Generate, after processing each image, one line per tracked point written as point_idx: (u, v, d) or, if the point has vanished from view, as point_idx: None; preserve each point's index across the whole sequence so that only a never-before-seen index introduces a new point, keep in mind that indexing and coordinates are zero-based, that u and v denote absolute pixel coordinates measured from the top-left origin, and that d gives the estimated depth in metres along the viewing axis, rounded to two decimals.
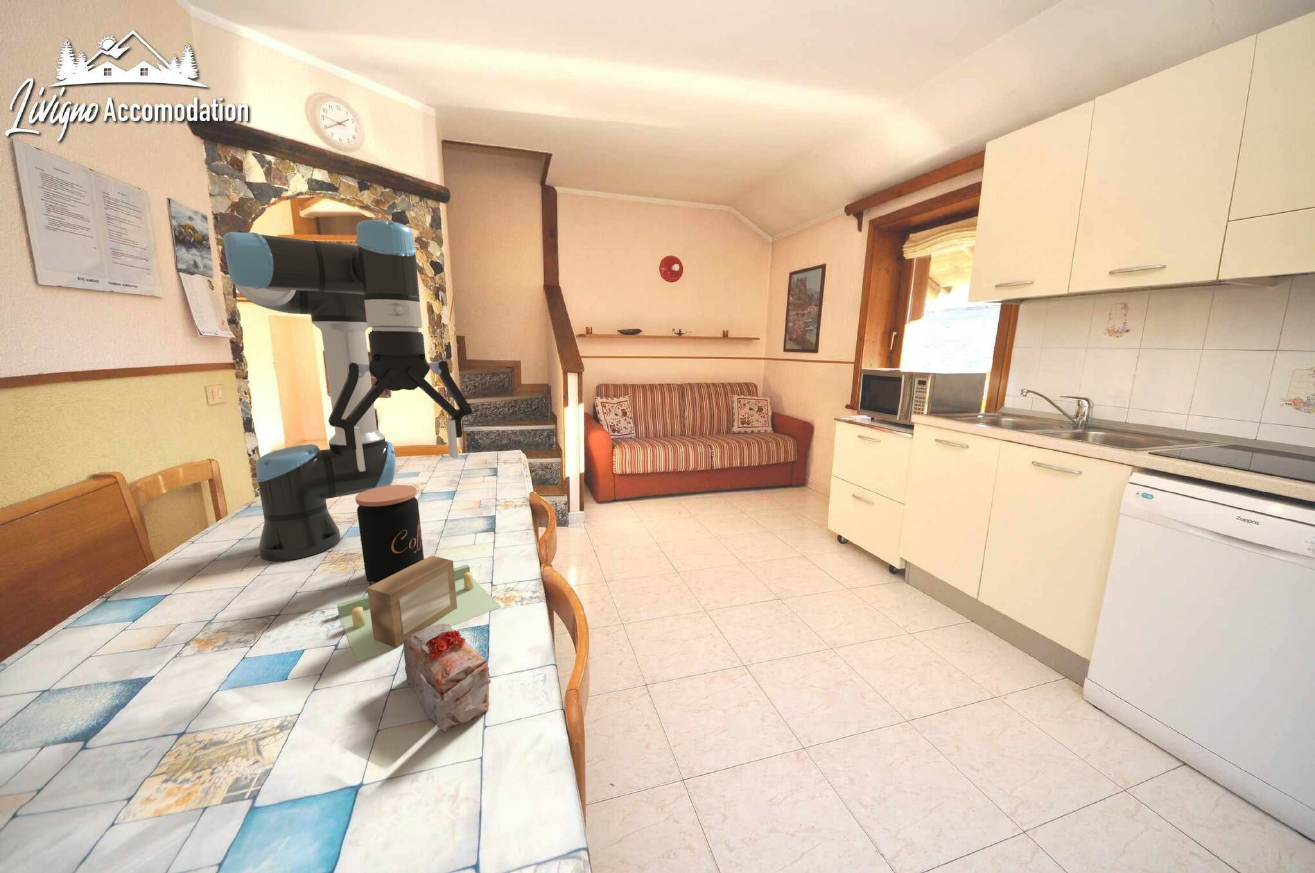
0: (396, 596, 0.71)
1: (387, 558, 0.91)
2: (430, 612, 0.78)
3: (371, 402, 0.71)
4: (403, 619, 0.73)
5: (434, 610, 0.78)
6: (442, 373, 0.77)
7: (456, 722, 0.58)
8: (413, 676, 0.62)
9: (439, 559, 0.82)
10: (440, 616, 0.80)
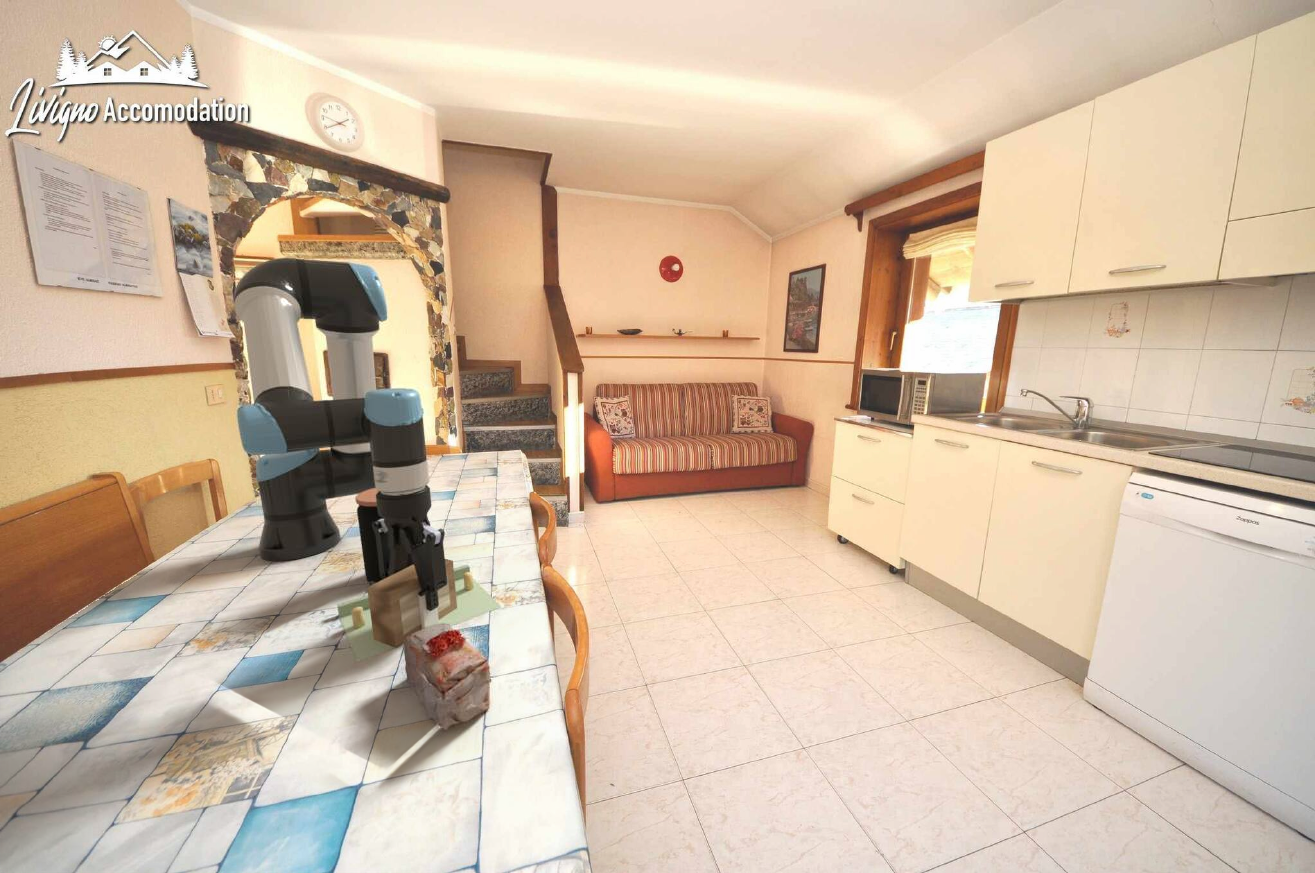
0: (396, 596, 0.71)
1: None
2: None
3: (394, 558, 0.76)
4: (403, 619, 0.73)
5: None
6: (426, 544, 0.72)
7: (457, 721, 0.58)
8: (414, 675, 0.62)
9: None
10: (440, 616, 0.80)
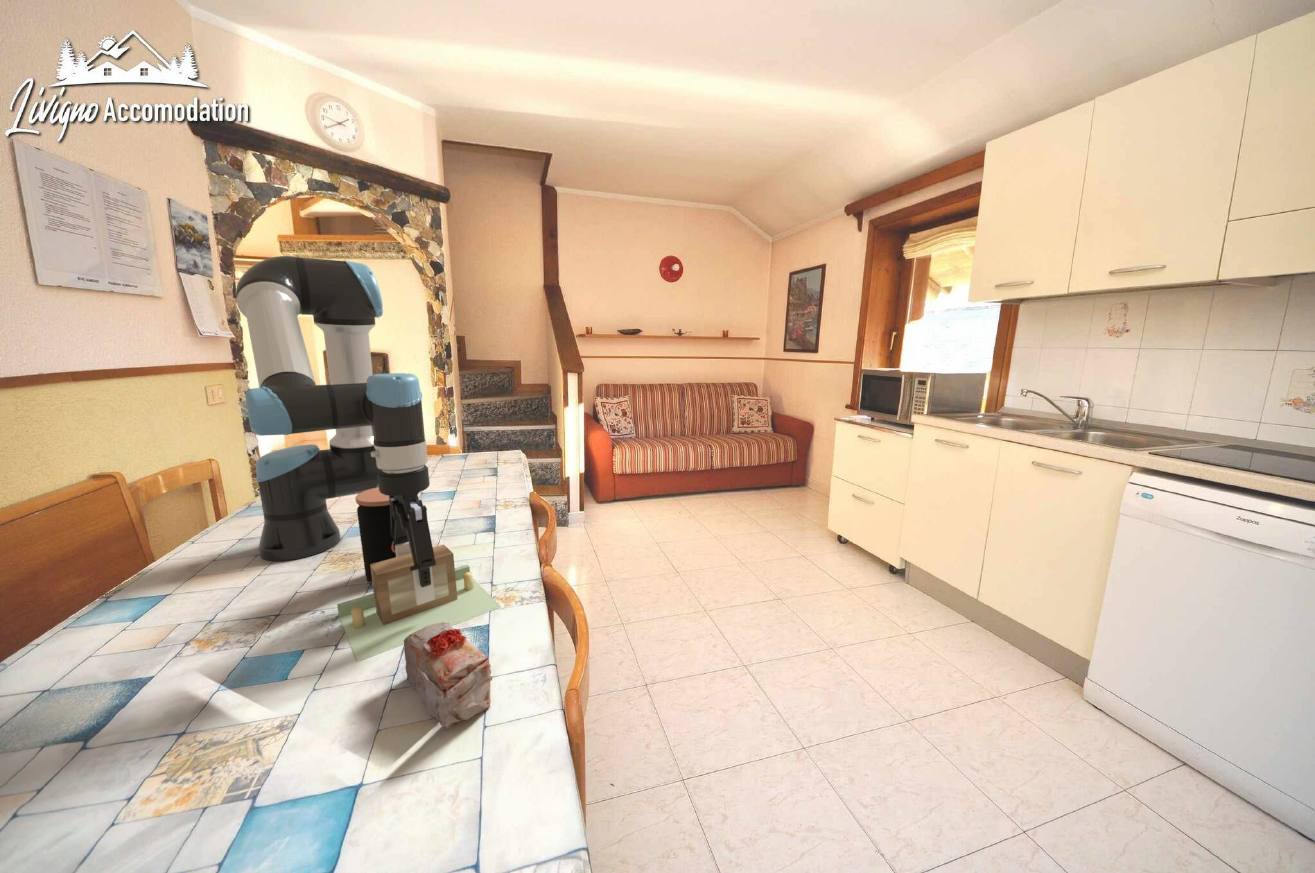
0: (384, 578, 0.77)
1: (387, 558, 0.91)
2: None
3: (396, 525, 0.83)
4: (392, 600, 0.78)
5: None
6: (409, 519, 0.75)
7: (459, 719, 0.58)
8: (414, 675, 0.63)
9: (445, 549, 0.85)
10: (436, 604, 0.83)
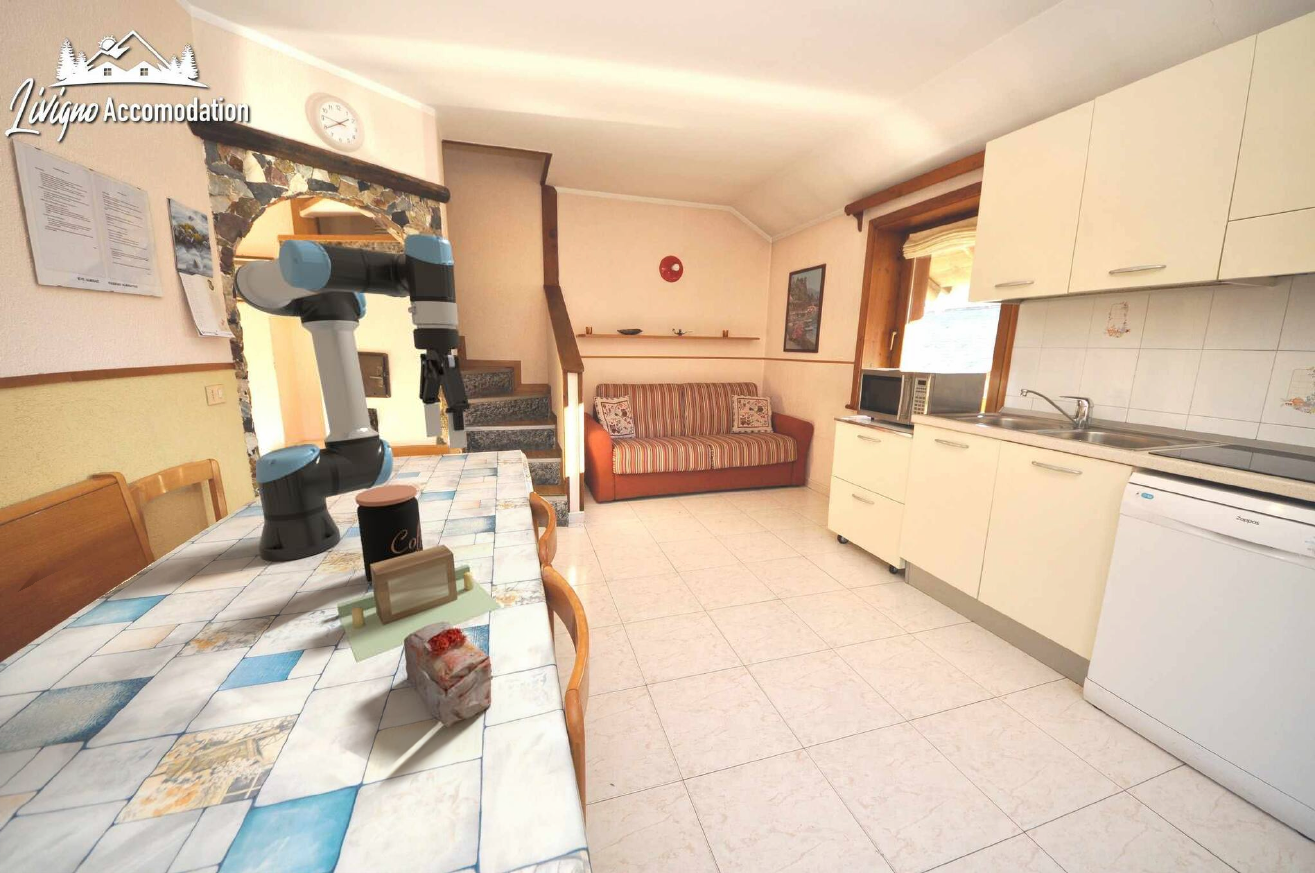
0: (384, 578, 0.77)
1: (387, 558, 0.91)
2: (424, 598, 0.82)
3: (426, 385, 0.90)
4: (392, 600, 0.78)
5: (428, 597, 0.82)
6: (443, 367, 0.82)
7: (460, 718, 0.59)
8: (415, 674, 0.63)
9: (445, 549, 0.85)
10: (436, 604, 0.83)
